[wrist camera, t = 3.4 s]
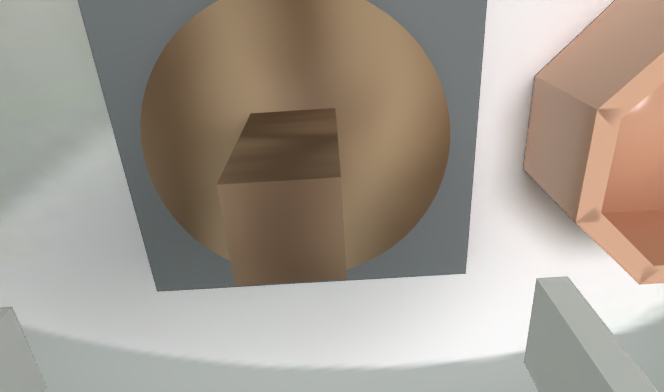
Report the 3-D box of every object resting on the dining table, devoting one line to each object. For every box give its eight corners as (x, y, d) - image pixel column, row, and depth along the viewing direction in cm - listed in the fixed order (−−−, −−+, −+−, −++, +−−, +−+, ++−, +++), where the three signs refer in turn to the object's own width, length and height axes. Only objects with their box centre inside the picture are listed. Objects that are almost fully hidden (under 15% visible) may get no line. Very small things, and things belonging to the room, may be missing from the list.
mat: (162, 281, 29) (157, 291, 28) (80, -31, 21) (69, -30, 20) (461, 263, 29) (465, 273, 28) (484, -57, 21) (491, -58, 20)
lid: (179, 275, 27) (121, 402, 20) (110, -7, 21) (-20, 12, 13) (440, 260, 27) (488, 382, 19) (454, -30, 21) (535, -23, 13)
